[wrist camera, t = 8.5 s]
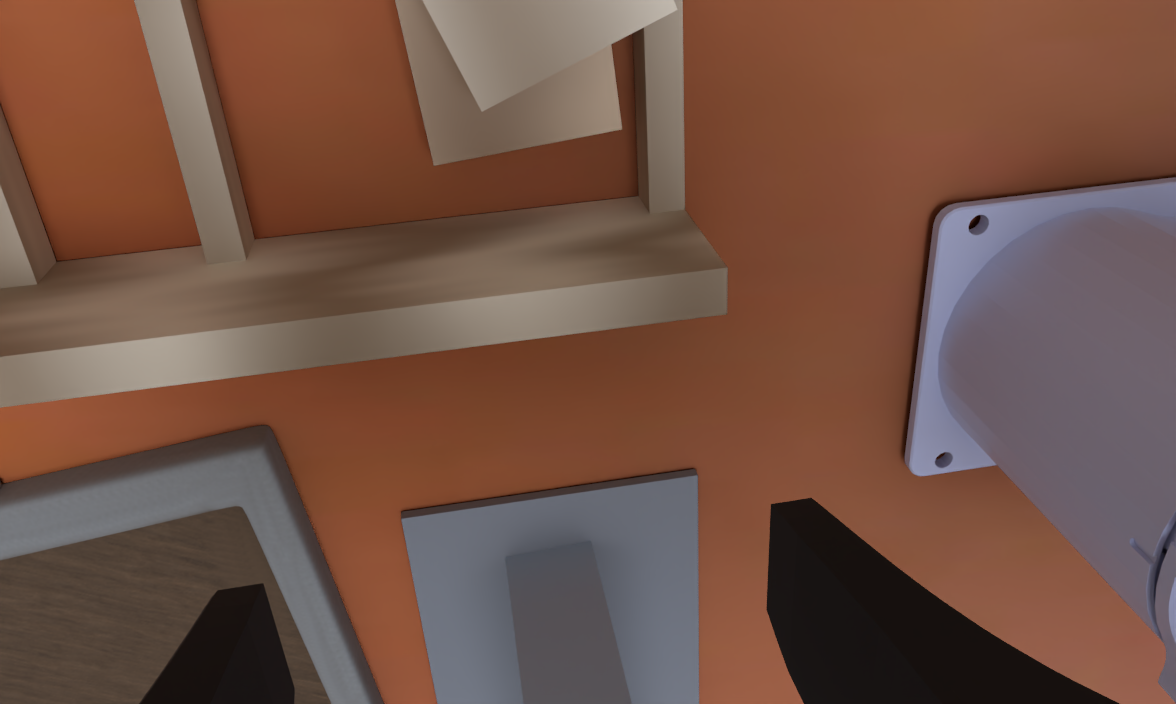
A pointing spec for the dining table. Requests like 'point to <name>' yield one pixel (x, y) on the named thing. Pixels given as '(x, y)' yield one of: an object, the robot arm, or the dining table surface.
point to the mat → (548, 520)
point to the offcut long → (523, 120)
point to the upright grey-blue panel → (564, 628)
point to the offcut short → (532, 37)
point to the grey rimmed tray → (163, 572)
